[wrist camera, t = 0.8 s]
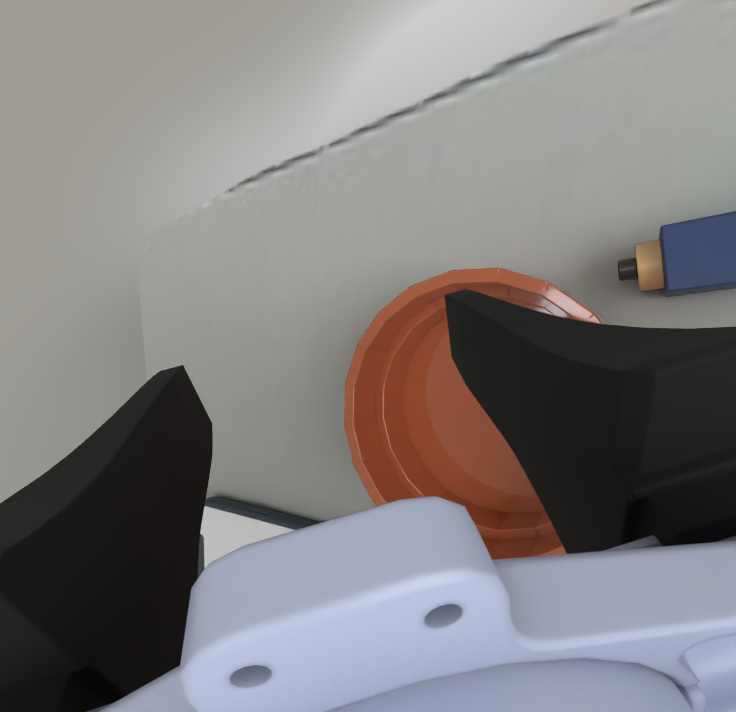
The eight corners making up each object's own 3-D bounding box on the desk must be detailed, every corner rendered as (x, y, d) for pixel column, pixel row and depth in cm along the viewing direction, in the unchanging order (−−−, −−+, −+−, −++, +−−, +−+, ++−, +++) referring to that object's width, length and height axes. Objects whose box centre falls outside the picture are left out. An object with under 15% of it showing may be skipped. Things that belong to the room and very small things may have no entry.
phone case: (387, 533, 29) (209, 490, 37) (375, 543, 27) (192, 496, 35) (387, 670, 29) (211, 598, 37) (375, 688, 28) (195, 608, 36)
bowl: (654, 275, 20) (656, 260, 16) (636, 561, 21) (633, 618, 17) (393, 283, 27) (346, 274, 23) (387, 500, 28) (341, 530, 24)
